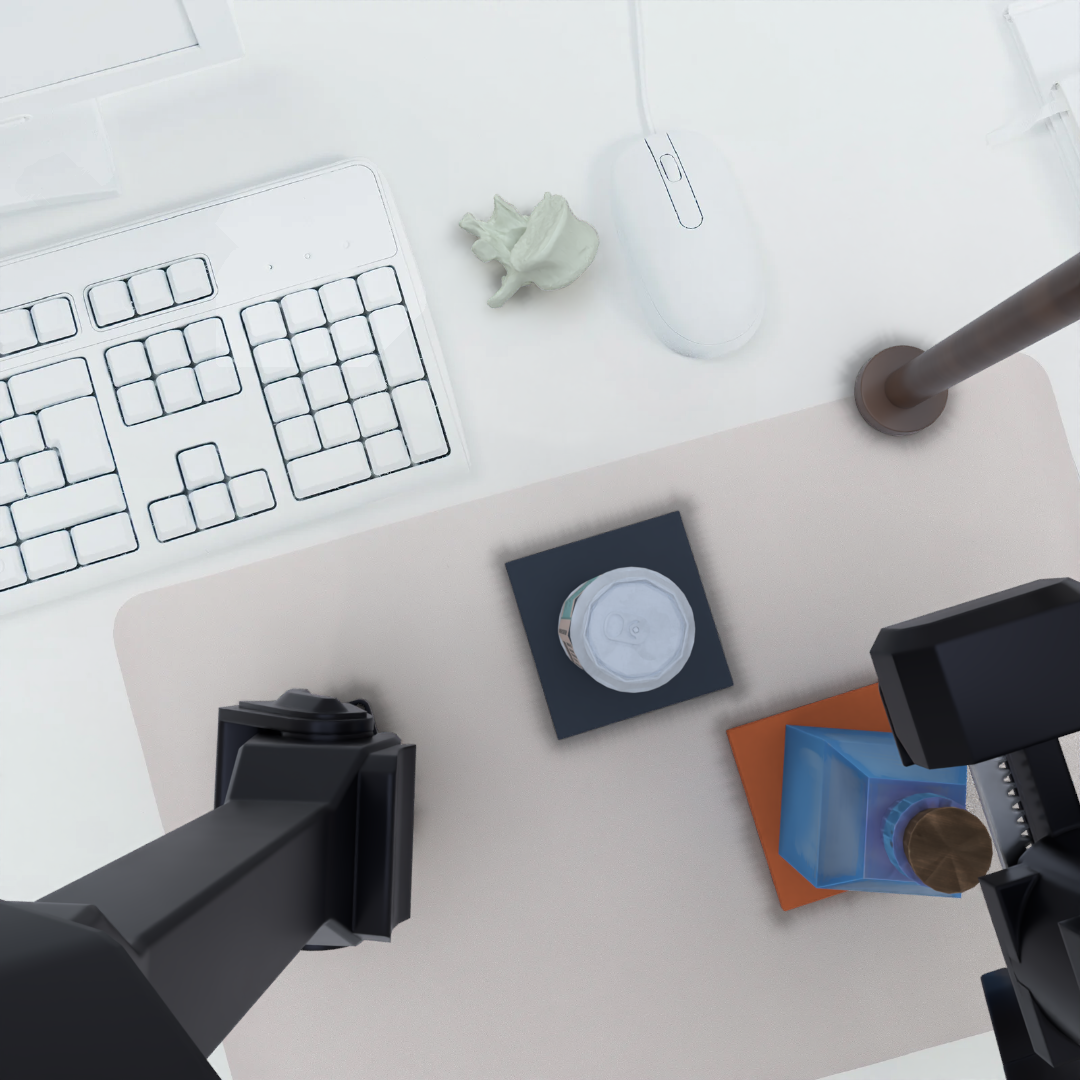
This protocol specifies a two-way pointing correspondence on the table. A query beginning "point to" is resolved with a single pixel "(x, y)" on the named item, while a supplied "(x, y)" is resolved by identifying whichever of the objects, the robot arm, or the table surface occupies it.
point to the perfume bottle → (876, 817)
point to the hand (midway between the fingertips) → (954, 851)
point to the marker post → (963, 353)
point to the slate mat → (568, 566)
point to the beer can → (628, 629)
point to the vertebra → (533, 245)
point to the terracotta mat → (763, 774)
